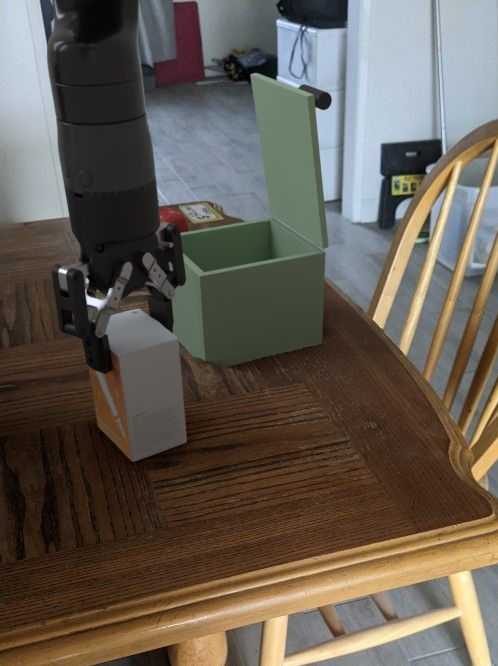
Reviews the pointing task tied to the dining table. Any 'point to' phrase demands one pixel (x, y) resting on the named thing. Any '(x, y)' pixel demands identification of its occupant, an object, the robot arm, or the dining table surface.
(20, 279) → the dining table surface
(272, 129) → the lid
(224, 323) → the chest
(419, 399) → the dining table surface
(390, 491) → the dining table surface
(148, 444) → the small box
